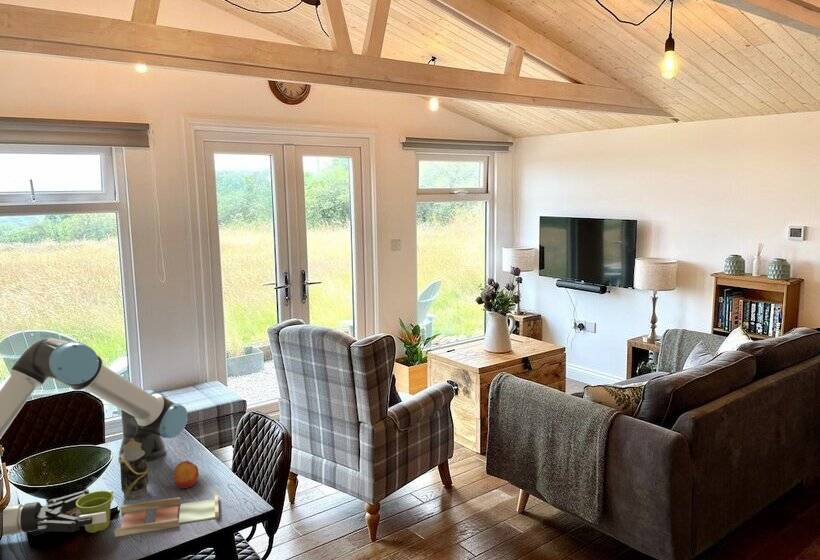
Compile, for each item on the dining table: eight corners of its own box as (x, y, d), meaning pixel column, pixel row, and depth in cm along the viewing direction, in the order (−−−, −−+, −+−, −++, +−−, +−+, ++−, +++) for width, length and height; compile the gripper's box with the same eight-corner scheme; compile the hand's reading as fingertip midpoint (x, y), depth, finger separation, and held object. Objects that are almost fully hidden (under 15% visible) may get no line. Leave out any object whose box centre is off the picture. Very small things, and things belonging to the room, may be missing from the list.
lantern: (133, 487, 200) (127, 412, 196) (155, 488, 199) (150, 414, 195) (115, 500, 192) (109, 423, 188) (139, 502, 190) (133, 424, 186)
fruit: (205, 482, 203) (203, 459, 201) (186, 494, 195) (185, 470, 194) (186, 478, 206) (185, 455, 205) (168, 489, 199) (166, 465, 197)
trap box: (121, 511, 185) (121, 505, 185) (218, 497, 193) (217, 491, 193) (115, 536, 172) (114, 530, 171) (218, 520, 180) (218, 513, 180)
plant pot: (100, 538, 171) (98, 508, 170) (71, 534, 173) (68, 505, 172) (122, 520, 180) (120, 492, 179) (94, 517, 182) (91, 489, 181)
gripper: (36, 509, 182) (116, 497, 189) (11, 555, 160) (103, 540, 166) (33, 485, 181) (114, 474, 188) (8, 528, 158) (101, 514, 165)
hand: (109, 505), depth 177 cm, fingers open, 12 cm apart
